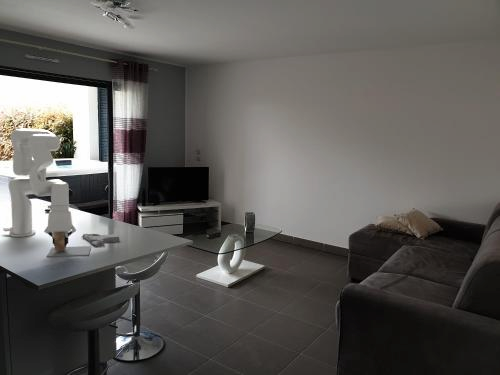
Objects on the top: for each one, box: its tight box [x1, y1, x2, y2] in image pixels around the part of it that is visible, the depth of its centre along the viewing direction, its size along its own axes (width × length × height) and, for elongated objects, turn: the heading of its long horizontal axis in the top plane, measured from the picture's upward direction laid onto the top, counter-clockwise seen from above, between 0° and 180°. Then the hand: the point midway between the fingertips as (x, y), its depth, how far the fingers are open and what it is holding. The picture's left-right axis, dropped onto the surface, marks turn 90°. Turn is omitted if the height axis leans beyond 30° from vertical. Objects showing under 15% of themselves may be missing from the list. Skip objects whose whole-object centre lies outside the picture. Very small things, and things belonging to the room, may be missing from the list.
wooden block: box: [54, 232, 67, 251], centre depth 184 cm, size 4×7×9 cm, turn 17°
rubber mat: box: [46, 245, 92, 258], centre depth 186 cm, size 18×14×1 cm
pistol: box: [81, 233, 120, 247], centre depth 209 cm, size 20×3×16 cm
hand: (60, 244), depth 185 cm, fingers closed on wooden block, 4 cm apart
